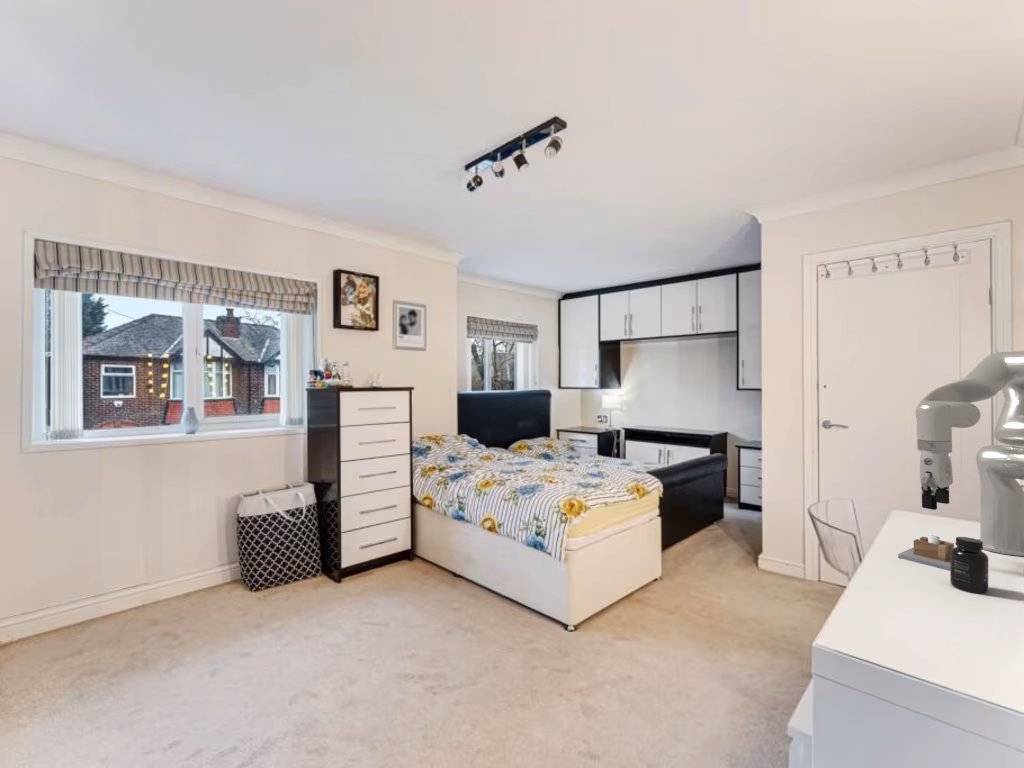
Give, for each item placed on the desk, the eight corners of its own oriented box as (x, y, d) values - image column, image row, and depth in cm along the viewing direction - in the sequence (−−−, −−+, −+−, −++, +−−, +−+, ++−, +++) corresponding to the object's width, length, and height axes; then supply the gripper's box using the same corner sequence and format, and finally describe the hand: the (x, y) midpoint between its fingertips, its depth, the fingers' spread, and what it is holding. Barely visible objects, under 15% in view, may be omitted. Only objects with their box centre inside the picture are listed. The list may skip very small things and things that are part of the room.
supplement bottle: (996, 595, 115) (996, 544, 115) (962, 592, 116) (962, 542, 116) (974, 583, 121) (975, 536, 121) (943, 581, 123) (943, 534, 123)
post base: (917, 549, 147) (917, 527, 147) (969, 561, 137) (969, 538, 137) (898, 557, 140) (898, 535, 140) (952, 571, 130) (952, 546, 130)
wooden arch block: (944, 561, 134) (945, 547, 134) (913, 554, 140) (913, 540, 140) (953, 557, 137) (953, 543, 137) (923, 550, 143) (923, 536, 143)
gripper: (940, 450, 131) (941, 513, 131) (961, 444, 140) (963, 503, 140) (906, 448, 137) (907, 508, 137) (929, 442, 146) (930, 498, 147)
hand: (935, 505), depth 139 cm, fingers open, 9 cm apart
